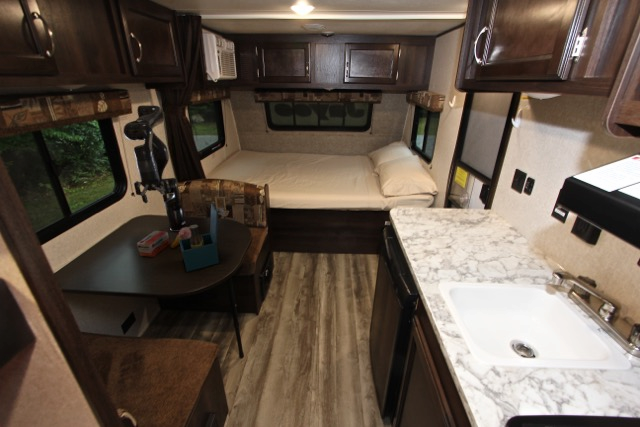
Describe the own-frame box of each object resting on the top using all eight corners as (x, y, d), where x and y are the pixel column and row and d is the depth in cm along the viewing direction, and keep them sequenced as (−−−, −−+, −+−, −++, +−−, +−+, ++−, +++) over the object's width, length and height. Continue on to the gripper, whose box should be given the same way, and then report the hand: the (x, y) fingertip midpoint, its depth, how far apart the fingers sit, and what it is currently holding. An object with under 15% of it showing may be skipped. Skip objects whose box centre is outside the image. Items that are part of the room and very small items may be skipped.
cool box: (186, 271, 145) (182, 251, 140) (183, 259, 155) (179, 239, 150) (219, 263, 152) (216, 243, 147) (213, 251, 162) (210, 232, 157)
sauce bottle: (208, 260, 152) (202, 227, 144) (195, 264, 149) (188, 230, 141) (204, 255, 157) (198, 222, 149) (192, 259, 154) (185, 225, 145)
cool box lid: (216, 212, 141) (227, 212, 144) (211, 203, 151) (221, 203, 154) (215, 242, 147) (225, 241, 150) (209, 232, 157) (220, 231, 160)
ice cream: (175, 251, 159) (197, 233, 165) (163, 239, 160) (186, 221, 166) (180, 256, 169) (201, 238, 175) (169, 244, 170) (190, 227, 176)
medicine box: (157, 242, 171) (154, 230, 167) (170, 243, 170) (167, 231, 166) (139, 256, 157) (136, 243, 154) (153, 257, 156) (150, 244, 153)
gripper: (167, 166, 136) (174, 198, 143) (133, 167, 133) (142, 199, 140) (162, 170, 129) (169, 204, 136) (127, 172, 127) (136, 206, 134)
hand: (156, 202), depth 138 cm, fingers open, 8 cm apart
